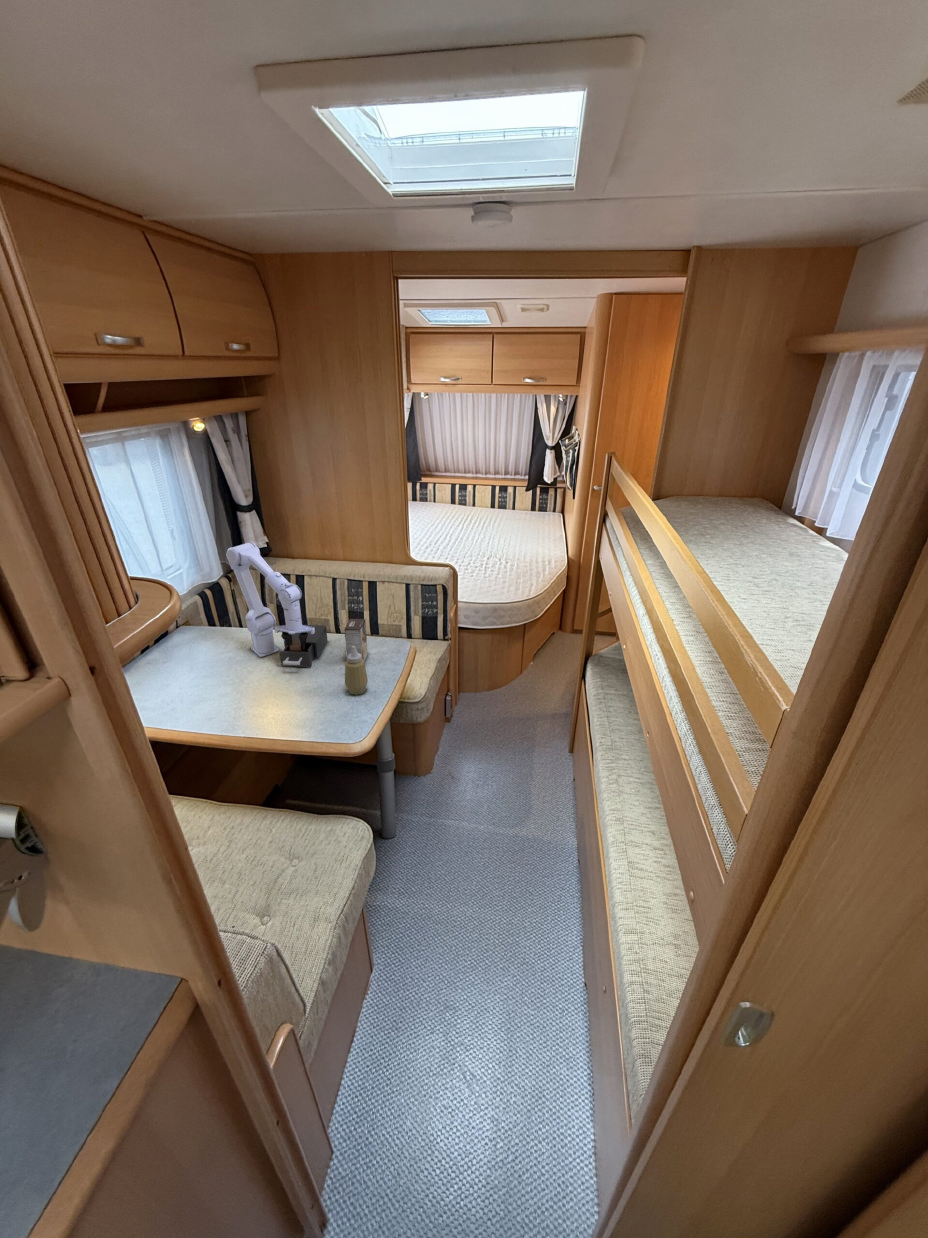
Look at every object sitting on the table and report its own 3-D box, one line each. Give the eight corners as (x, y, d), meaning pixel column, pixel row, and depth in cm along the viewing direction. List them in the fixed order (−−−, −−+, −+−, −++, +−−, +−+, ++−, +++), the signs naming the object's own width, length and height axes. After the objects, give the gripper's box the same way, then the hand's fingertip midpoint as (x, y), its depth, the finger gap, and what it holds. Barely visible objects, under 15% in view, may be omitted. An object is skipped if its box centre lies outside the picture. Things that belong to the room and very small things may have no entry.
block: (301, 655, 188) (300, 645, 186) (290, 654, 188) (289, 645, 186) (304, 649, 191) (303, 640, 190) (294, 649, 191) (293, 640, 190)
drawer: (307, 673, 184) (305, 659, 182) (276, 671, 184) (274, 658, 182) (320, 649, 200) (319, 636, 198) (292, 648, 200) (291, 635, 198)
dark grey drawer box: (317, 659, 195) (315, 642, 191) (286, 658, 195) (283, 641, 191) (327, 641, 208) (326, 625, 205) (297, 640, 208) (295, 624, 205)
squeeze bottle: (363, 681, 182) (360, 639, 174) (372, 692, 176) (369, 648, 168) (342, 688, 178) (338, 644, 170) (350, 699, 172) (346, 654, 164)
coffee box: (352, 653, 200) (349, 618, 193) (368, 654, 200) (365, 618, 193) (346, 665, 192) (344, 628, 184) (363, 666, 192) (361, 629, 184)
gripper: (269, 621, 179) (274, 653, 185) (309, 622, 179) (313, 655, 185) (276, 613, 186) (281, 644, 192) (314, 614, 186) (318, 645, 192)
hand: (297, 649), depth 189 cm, fingers closed on block, 4 cm apart
